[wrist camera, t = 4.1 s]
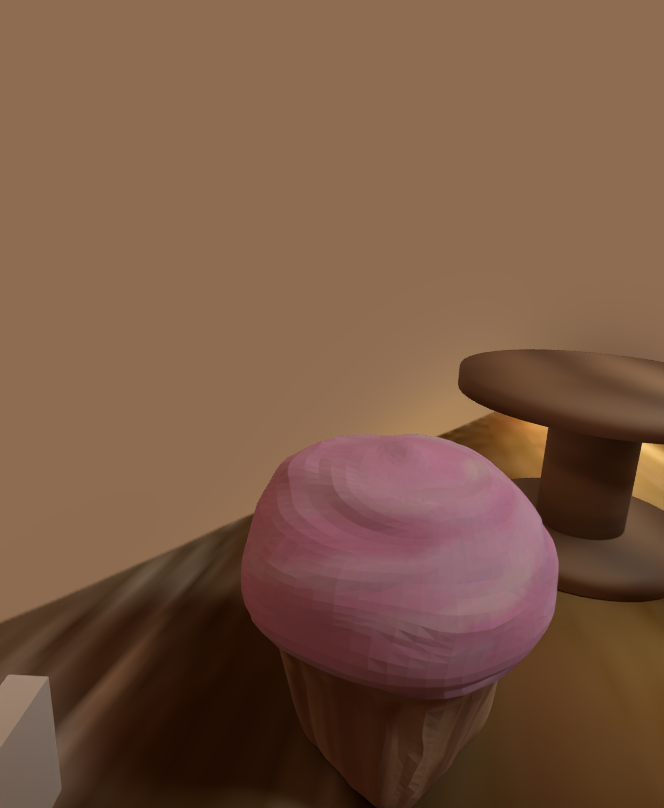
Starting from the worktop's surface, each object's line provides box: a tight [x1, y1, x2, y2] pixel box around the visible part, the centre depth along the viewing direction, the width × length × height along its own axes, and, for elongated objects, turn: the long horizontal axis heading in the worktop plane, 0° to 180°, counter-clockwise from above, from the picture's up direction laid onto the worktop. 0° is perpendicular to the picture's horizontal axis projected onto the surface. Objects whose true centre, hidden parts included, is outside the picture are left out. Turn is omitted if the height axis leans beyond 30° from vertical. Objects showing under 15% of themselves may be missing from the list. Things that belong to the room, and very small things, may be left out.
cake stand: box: [458, 349, 664, 601], centre depth 30 cm, size 14×14×9 cm
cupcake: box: [241, 434, 559, 808], centre depth 17 cm, size 9×9×10 cm
